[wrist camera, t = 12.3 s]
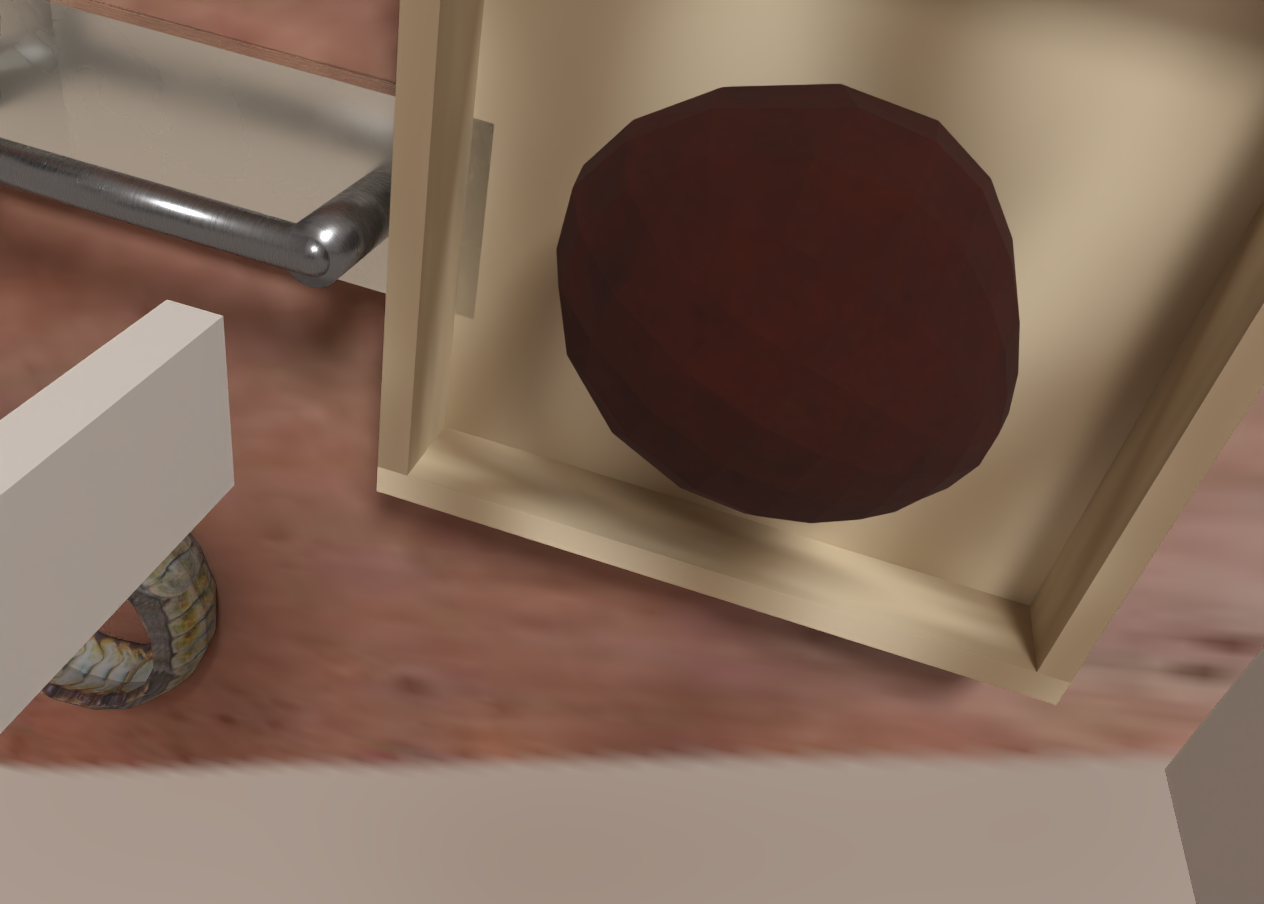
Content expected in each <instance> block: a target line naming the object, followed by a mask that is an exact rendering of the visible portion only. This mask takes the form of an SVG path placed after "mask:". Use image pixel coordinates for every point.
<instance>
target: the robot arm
mask: <svg viewBox="0 0 1264 904" xmlns="http://www.w3.org/2000/svg"><path fill="white" fill-rule="evenodd" d="M233 486H234V471H233V456H232V441H231V426H230V411H229V396H228V381H227V366H226V350H225V335H224V320H223V316H222V315H219V314H215V313H212V312H208V311H205V310H201V309H198V308H194V307H191V306H188V305H184V304H181V303H177V302H174V301H170V300H166V301H164V302H163V303H161V304H160V305H159V306H157V307H156V308H155V309H153V310H152V311H150V312H149V313H148V314H146V315H145V316H144V317H142V318H141V319H139V320H138V321H137V322H135V323H134V324H132V325H131V326H130V327H128V328H127V329H126V330H124V331H123V332H121V333H120V334H119V335H117V336H116V337H115V338H113V339H112V340H110V341H109V342H108V343H106V344H105V345H103V346H102V347H101V348H99V349H98V350H97V351H95V352H94V353H92V354H91V355H90V356H88V357H87V358H85V359H84V360H83V361H81V362H80V363H79V364H77V365H76V366H74V367H73V368H72V369H70V370H69V371H68V372H66V373H65V374H63V375H62V376H61V377H59V378H58V379H56V380H55V381H54V382H52V383H51V384H50V385H48V386H47V387H45V388H44V389H43V390H41V391H40V392H39V393H37V394H36V395H34V396H33V397H32V398H30V399H29V400H27V401H26V402H25V403H23V404H22V405H21V406H19V407H18V408H16V409H15V410H14V411H12V412H11V413H10V414H8V415H7V416H5V417H4V418H3V419H1V420H0V733H1V732H2V731H3V730H4V729H5V728H6V727H7V726H8V725H9V724H10V723H11V722H12V721H13V720H14V719H15V718H16V716H17V715H18V714H19V713H20V712H21V711H22V710H23V709H24V708H25V707H26V706H27V705H28V704H29V703H30V702H31V701H32V699H33V698H34V697H35V696H36V695H37V694H38V693H39V692H40V691H41V690H42V689H43V688H44V687H45V686H46V685H47V684H48V682H49V681H50V680H51V679H52V678H53V677H54V676H55V675H56V674H57V673H58V672H59V671H60V670H61V669H62V668H63V667H64V665H65V664H66V663H67V662H68V661H69V660H70V659H71V658H72V657H73V656H74V655H75V654H76V653H77V652H78V651H79V650H80V648H81V647H82V646H83V645H84V644H85V643H86V642H87V641H88V640H89V639H90V638H91V637H92V636H93V635H94V634H95V633H96V631H97V630H98V629H99V628H100V627H101V626H102V625H103V624H104V623H105V622H106V621H107V620H108V619H109V618H110V617H111V616H112V614H113V613H114V612H115V611H116V610H117V609H118V608H119V607H120V606H121V605H122V604H123V603H124V602H125V601H126V600H127V599H128V597H129V596H130V595H131V594H132V593H133V592H134V591H135V590H136V589H137V588H138V587H139V586H140V585H141V584H142V583H143V582H144V581H145V579H146V578H147V577H148V576H149V575H150V574H151V573H152V572H153V571H154V570H155V569H156V568H157V567H158V566H159V565H160V564H161V562H162V561H163V560H164V559H165V558H166V557H167V556H168V555H169V554H170V553H171V552H172V551H173V550H174V549H175V548H176V547H177V545H178V544H179V543H180V542H181V541H182V540H183V539H184V538H185V537H186V536H187V535H188V534H189V533H190V532H191V531H192V530H193V528H194V527H195V526H196V525H197V524H198V523H199V522H200V521H201V520H202V519H203V518H204V517H205V516H206V515H207V514H208V513H209V511H210V510H211V509H212V508H213V507H214V506H215V505H216V504H217V503H218V502H219V501H220V500H221V499H222V498H223V497H224V496H225V494H226V493H227V492H228V491H229V490H230V489H231V488H232V487H233ZM1165 772H1166V776H1167V781H1168V785H1169V789H1170V793H1171V798H1172V802H1173V806H1174V811H1175V815H1176V819H1177V823H1178V828H1179V832H1180V836H1181V841H1182V845H1183V849H1184V853H1185V858H1186V861H1187V866H1188V870H1189V875H1190V879H1191V883H1192V888H1193V892H1194V896H1195V901H1196V904H1264V647H1263V648H1262V649H1261V650H1260V652H1259V653H1258V654H1257V655H1256V657H1255V658H1254V659H1253V660H1252V662H1251V663H1250V664H1249V665H1248V667H1247V668H1246V669H1245V670H1244V672H1243V673H1242V674H1241V675H1240V677H1239V678H1238V679H1237V680H1236V682H1235V683H1234V684H1233V685H1232V686H1231V688H1230V689H1229V690H1228V691H1227V693H1226V694H1225V695H1224V696H1223V698H1222V699H1221V700H1220V701H1219V703H1218V704H1217V705H1216V706H1215V708H1214V709H1213V710H1212V711H1211V713H1210V714H1209V715H1208V716H1207V718H1206V719H1205V720H1204V721H1203V723H1202V724H1201V725H1200V726H1199V728H1198V729H1197V730H1196V731H1195V732H1194V734H1193V735H1192V736H1191V737H1190V739H1189V740H1188V741H1187V742H1186V744H1185V745H1184V746H1183V747H1182V749H1181V750H1180V751H1179V752H1178V754H1177V755H1176V756H1175V757H1174V759H1173V760H1172V761H1171V762H1170V764H1169V765H1168V766H1167V767H1166V769H1165Z"/></svg>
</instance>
